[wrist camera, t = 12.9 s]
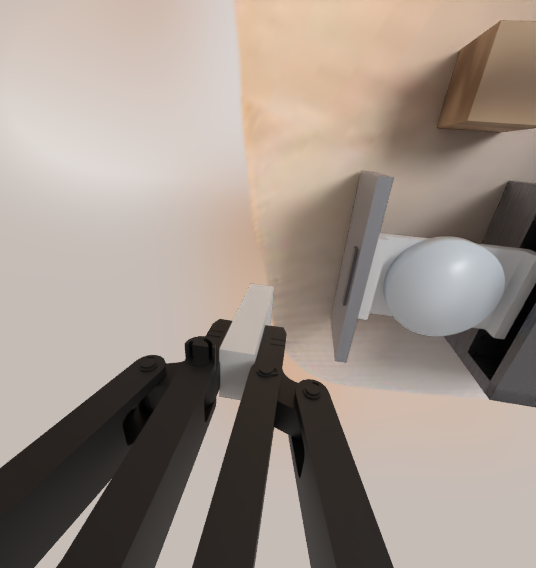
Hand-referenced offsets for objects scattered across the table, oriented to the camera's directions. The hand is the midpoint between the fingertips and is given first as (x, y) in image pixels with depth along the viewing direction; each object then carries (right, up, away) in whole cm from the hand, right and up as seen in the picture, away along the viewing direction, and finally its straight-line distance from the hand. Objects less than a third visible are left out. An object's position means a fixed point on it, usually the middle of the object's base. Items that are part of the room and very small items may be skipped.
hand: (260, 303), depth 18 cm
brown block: (+17, +16, +3) cm, 24 cm away
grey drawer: (+14, +4, +9) cm, 18 cm away
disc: (+14, +1, +5) cm, 15 cm away
